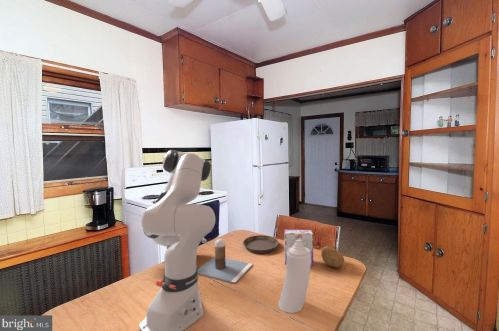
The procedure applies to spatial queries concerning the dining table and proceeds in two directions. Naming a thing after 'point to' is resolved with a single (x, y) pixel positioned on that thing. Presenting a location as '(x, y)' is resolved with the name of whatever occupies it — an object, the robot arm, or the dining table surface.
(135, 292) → the dining table surface
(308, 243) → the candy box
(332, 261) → the potato
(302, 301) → the spray can
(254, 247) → the plant saucer
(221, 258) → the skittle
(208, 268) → the mat
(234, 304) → the dining table surface
